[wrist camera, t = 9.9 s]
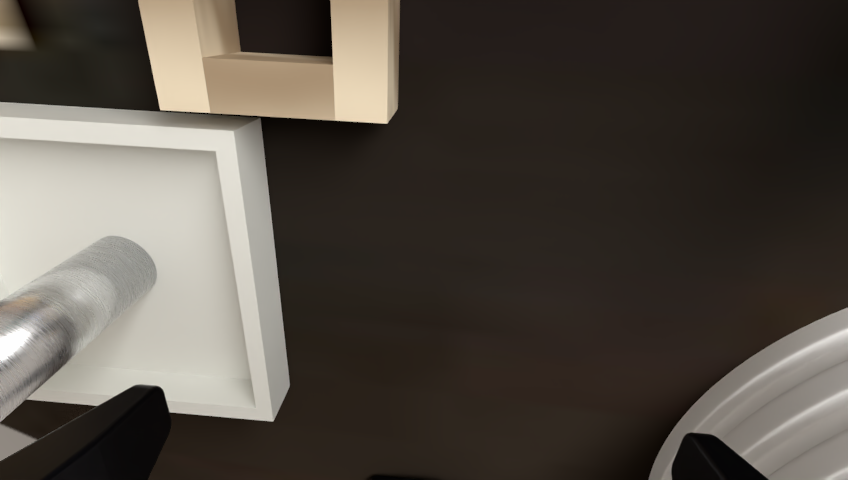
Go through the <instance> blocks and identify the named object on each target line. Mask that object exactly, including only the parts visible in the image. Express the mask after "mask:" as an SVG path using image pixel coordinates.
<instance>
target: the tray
mask: <svg viewBox="0 0 848 480" xmlns="http://www.w3.org/2000/svg"><path fill="white" fill-rule="evenodd" d="M107 236H119V237H124V238H127V239H129V240H131V241H133V242H135V243H137V244H138V245H140V246H141V247H142V248H143V249H144V250H145V251H146V252H147V253H148V254H149V255H150V256H151V258H152V260H153V261H154V263H155V266H156V270H157V280H156V283H155V285H154V286H153V287H152V288H151V289H150V290H149V291H148V292H147V293H146V294H145V295H143V296H142V297H141V298H140V299H139V300H138V301H137V302H136V303H134V304H133V305H132V306H131V307H130V308H129V309H128V310H126V311H125V312H124V313H123V314H122V315H121V316H120V317H119V318H117V319H116V320H115V321H114V322H113V323H112V324H111V325H109V326H108V327H107V328H106V329H105V330H104V331H103V332H102V333H100V334H99V335H98V336H97V337H96V338H95V339H94V340H93V341H91V342H90V343H89V344H88V345H87V346H86V347H85V348H83V349H82V350H81V351H80V352H79V353H78V354H77V355H76V356H74V357H73V358H72V359H71V360H70V361H69V362H68V363H66V364H65V365H64V366H63V367H62V368H61V369H60V370H59V371H57V372H56V373H55V374H54V375H53V376H52V377H51V378H50V379H48V380H47V381H46V382H45V383H44V384H43V385H42V386H40V387H39V388H38V389H37V390H36V391H35V392H34V393H33V394H31V395H30V396H29V397H28V398H27V399H28V400H39V401H50V402H61V403H72V404H83V405H94V406H98V405H100V404H102V403H104V402H105V401H107V400H109V399H111V398H112V397H114V396H116V395H118V394H119V393H121V392H123V391H125V390H126V389H128V388H130V387H132V386H134V385H138V384H144V385H155V386H160V387H161V388H162V389H163V391H164V394H165V398H166V401H167V405H168V409H169V412H172V413H184V414H195V415H206V416H217V417H228V418H239V419H250V420H262V421H274V419H275V417H276V415H277V413H278V411H279V408H280V406H281V404H282V402H283V400H284V398H285V395H286V393H287V391H288V389H289V387H290V382H289V372H288V363H287V354H286V345H285V336H284V327H283V318H282V309H281V300H280V291H279V281H278V272H277V263H276V254H275V245H274V236H273V227H272V218H271V209H270V200H269V191H268V181H267V172H266V163H265V154H264V145H263V136H262V127H261V118H256V117H239V116H223V115H206V114H189V113H173V112H156V111H140V110H123V109H106V108H90V107H73V106H56V105H40V104H23V103H6V102H0V301H1V300H2V299H4V298H5V297H7V296H9V295H10V294H12V293H13V292H15V291H17V290H18V289H20V288H21V287H23V286H25V285H26V284H28V283H30V282H31V281H33V280H34V279H36V278H38V277H39V276H41V275H42V274H44V273H46V272H47V271H49V270H51V269H52V268H54V267H55V266H57V265H59V264H60V263H62V262H63V261H65V260H67V259H68V258H70V257H71V256H73V255H75V254H76V253H78V252H80V251H81V250H83V249H84V248H86V247H88V246H89V245H91V244H92V243H94V242H96V241H97V240H99V239H101V238H103V237H107Z"/></svg>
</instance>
